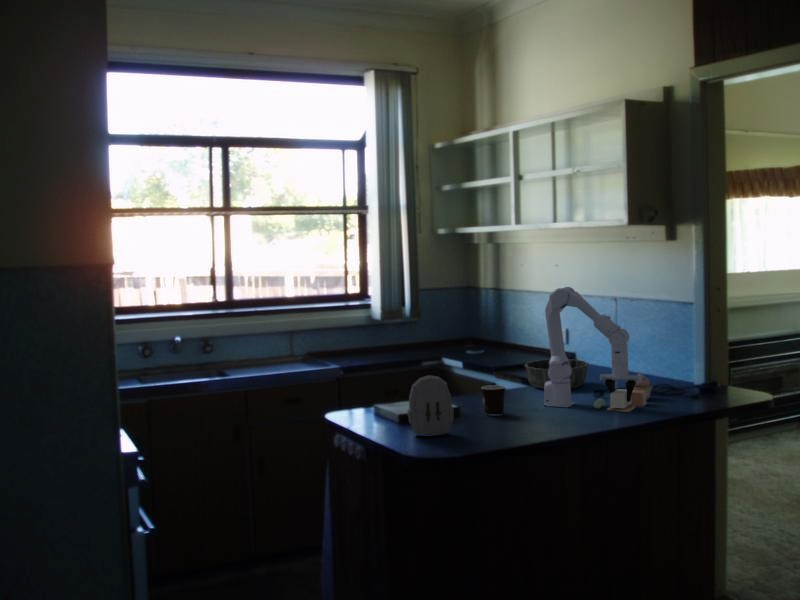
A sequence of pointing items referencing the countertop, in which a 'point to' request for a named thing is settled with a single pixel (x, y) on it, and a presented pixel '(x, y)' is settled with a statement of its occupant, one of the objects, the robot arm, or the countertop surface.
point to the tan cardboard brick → (638, 398)
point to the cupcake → (643, 385)
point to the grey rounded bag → (430, 406)
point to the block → (619, 399)
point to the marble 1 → (597, 404)
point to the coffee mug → (493, 398)
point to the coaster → (622, 409)
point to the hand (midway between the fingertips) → (621, 400)
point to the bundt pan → (540, 368)
